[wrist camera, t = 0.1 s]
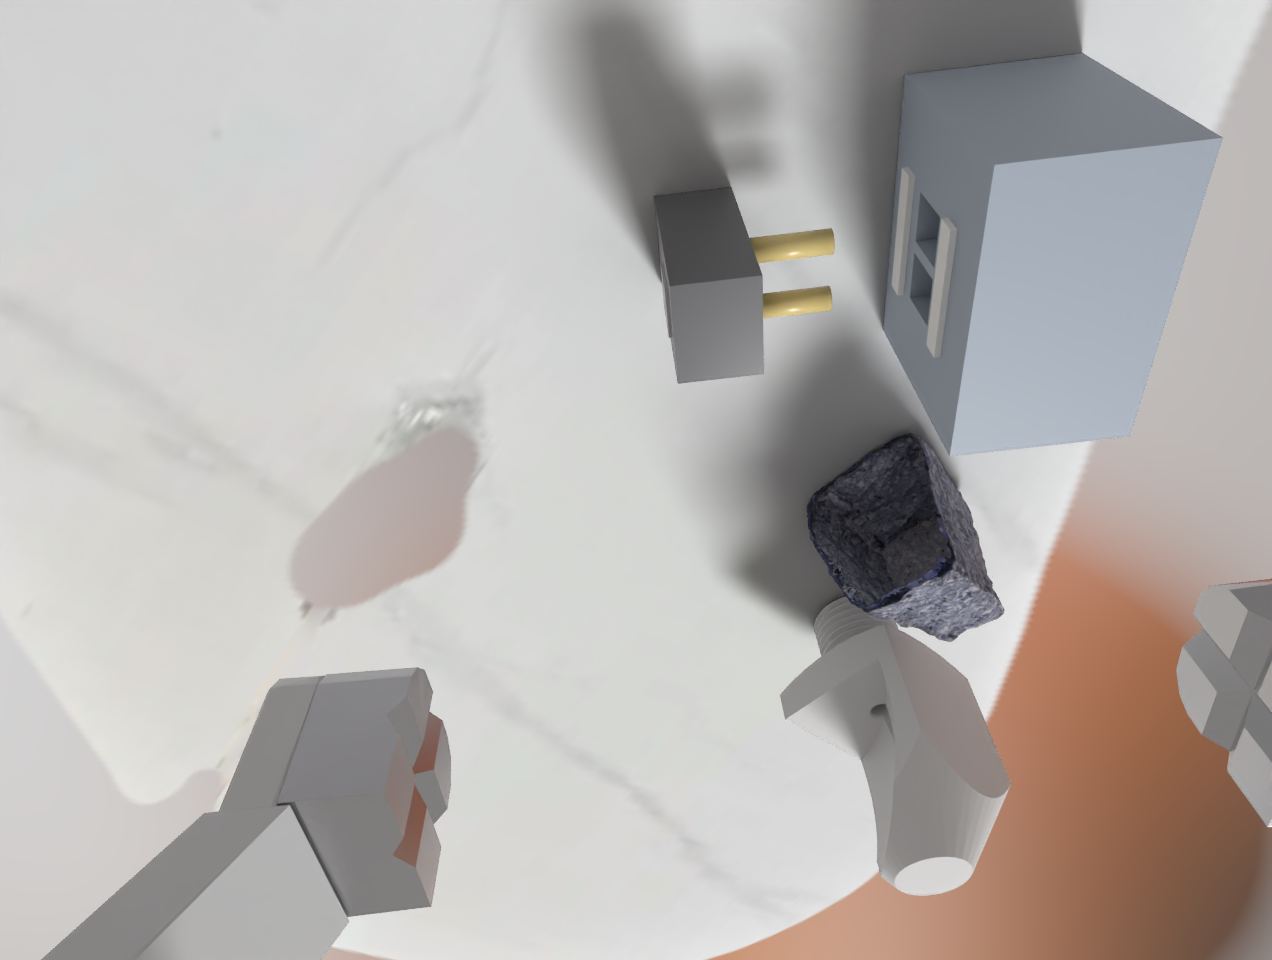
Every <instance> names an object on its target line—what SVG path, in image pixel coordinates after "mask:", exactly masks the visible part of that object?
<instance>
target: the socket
mask: <svg viewBox="0 0 1272 960" xmlns="http://www.w3.org/2000/svg"><path fill="white" fill-rule="evenodd" d="M1222 139H1223V138H1222V137H1221V136H1219V135H1217V134H1216V133H1214V132H1212V131H1211V130H1209V129H1207V128H1206V127H1204V126H1203V125H1201V124H1199V123H1198V122H1196V121H1194V120H1193V119H1191V118H1189V117H1188V116H1186V115H1184V114H1183V113H1181V112H1179V111H1178V110H1176V109H1174V108H1173V107H1171V106H1169V105H1168V104H1166V103H1164V102H1163V101H1161V100H1159V99H1158V98H1156V97H1154V96H1153V95H1151V94H1150V93H1148V92H1146V91H1145V90H1143V89H1141V88H1140V87H1138V86H1136V85H1135V84H1133V83H1131V82H1130V81H1128V80H1126V79H1125V78H1123V77H1121V76H1120V75H1118V74H1116V73H1115V72H1113V71H1111V70H1110V69H1108V68H1106V67H1105V66H1103V65H1102V64H1100V63H1098V62H1097V61H1095V60H1093V59H1092V58H1090V57H1088V56H1087V55H1085V54H1083V53H1080V54H1072V55H1064V56H1055V57H1047V58H1039V59H1031V60H1023V61H1014V62H1006V63H998V64H990V65H982V66H973V67H965V68H957V69H949V70H941V71H932V72H924V73H916V74H908V75H904V87H903V99H902V111H901V123H900V135H899V147H898V158H897V170H896V182H895V194H894V206H893V218H892V230H891V242H890V254H889V266H888V277H887V289H886V301H885V313H884V325H883V330H884V332H885V334H886V336H887V338H888V340H889V342H890V344H891V346H892V347H893V349H894V351H895V353H896V355H897V357H898V359H899V361H900V363H901V365H902V367H903V368H904V370H905V372H906V374H907V376H908V378H909V380H910V382H911V384H912V386H913V387H914V389H915V391H916V393H917V395H918V397H919V399H920V401H921V403H922V405H923V407H924V408H925V410H926V412H927V414H928V416H929V418H930V420H931V422H932V424H933V426H934V427H935V429H936V431H937V433H938V435H939V437H940V439H941V441H942V443H943V445H944V447H945V448H946V450H947V452H948V454H949V456H958V455H967V454H976V453H985V452H994V451H1003V450H1012V449H1021V448H1030V447H1039V446H1048V445H1057V444H1066V443H1075V442H1084V441H1093V440H1102V439H1110V438H1120V437H1128V436H1130V434H1131V431H1132V428H1133V425H1134V422H1135V418H1136V415H1137V412H1138V409H1139V405H1140V402H1141V399H1142V396H1143V393H1144V389H1145V386H1146V383H1147V379H1148V377H1149V373H1150V370H1151V367H1152V364H1153V360H1154V357H1155V354H1156V351H1157V348H1158V344H1159V341H1160V338H1161V335H1162V332H1163V328H1164V325H1165V322H1166V319H1167V315H1168V312H1169V309H1170V306H1171V302H1172V299H1173V296H1174V292H1175V290H1176V287H1177V283H1178V280H1179V277H1180V274H1181V270H1182V267H1183V264H1184V261H1185V258H1186V254H1187V251H1188V248H1189V244H1190V241H1191V238H1192V235H1193V232H1194V229H1195V225H1196V222H1197V219H1198V216H1199V212H1200V209H1201V206H1202V203H1203V200H1204V197H1205V193H1206V190H1207V187H1208V184H1209V180H1210V177H1211V174H1212V171H1213V168H1214V164H1215V161H1216V158H1217V155H1218V151H1219V148H1220V145H1221V142H1222Z"/></svg>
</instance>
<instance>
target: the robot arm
mask: <svg viewBox="0 0 1272 960" xmlns="http://www.w3.org/2000/svg"><path fill="white" fill-rule="evenodd" d="M1193 615H1194V617H1195V618H1196V620H1197V621H1198V623H1199V624H1200V626H1201V627H1202V628H1203V629H1202V630H1201V631H1200V632H1198V633H1197V634H1196V635H1195V636H1194V637H1193V638H1192V639H1190V640H1189V641H1188V642H1187V643H1186V644H1185V645H1183V647H1182V651H1181V655H1180V658H1179V662H1178V665H1177V669H1176V671H1177V679H1178V686H1179V693H1180V697H1181V699H1182V702H1183V704H1184V706H1185V709H1186V711H1187V713H1188V715H1189V717H1190V718H1191V720H1192V721H1193V723H1194V724H1195V726H1196V727H1197V729H1198V730H1199V731H1200V733H1201V734H1202V735H1203V736H1205V737H1206V738H1208V739H1210V740H1212V741H1213V742H1215V743H1217V744H1219V745H1220V746H1222V747H1224V748H1225V749H1227V750H1229V751H1230V753H1229V761H1228V768H1227V771H1228V773H1229V774H1230V775H1231V777H1232V778H1233V779H1234V781H1235V782H1236V784H1237V785H1238V786H1239V788H1240V789H1241V791H1242V792H1243V793H1244V795H1245V796H1246V797H1247V799H1248V800H1249V802H1250V803H1251V804H1252V806H1253V807H1254V809H1255V810H1256V811H1257V813H1258V814H1259V816H1260V817H1261V818H1262V820H1263V821H1264V822H1265V824H1266V825H1267V827H1272V579H1266V580H1258V581H1248V582H1239V583H1230V584H1221V585H1213V586H1210V587H1208V588H1207V589H1206V590H1205V591H1204V592H1203V593H1202V594H1201V595H1200V596H1199V599H1198V602H1197V605H1196V608H1195V610H1194V613H1193ZM432 694H433V691H432V688H431V686H430V683H429V680H428V678H427V675H426V672H425V670H423V669H420V668H418V667H416V668H403V669H391V670H378V671H365V672H352V673H339V674H327V675H326V676H314V677H300V678H286V679H279V680H278V681H277V682H276V683H275V684H274V685H273V686H272V687H271V688H270V689H269V691H268V693H267V695H266V698H265V700H264V702H263V705H262V707H261V710H260V712H259V715H258V717H257V720H256V722H255V724H254V727H253V729H252V732H251V734H250V737H249V739H248V742H247V744H246V746H245V749H244V751H243V754H242V756H241V759H240V761H239V764H238V766H237V768H236V771H235V773H234V776H233V778H232V781H231V783H230V785H229V788H228V790H227V793H226V795H225V798H224V800H223V803H222V805H221V807H220V810H219V811H218V812H210V813H204V814H203V815H202V816H201V817H199V819H197V820H196V821H195V822H194V823H193V824H192V825H191V826H189V827H188V828H187V829H186V830H185V831H184V832H183V833H182V834H181V835H179V836H178V837H177V838H176V839H175V840H174V841H173V842H172V843H171V844H169V845H168V846H167V847H166V848H165V849H164V850H163V851H162V852H160V853H159V854H158V855H157V856H156V857H155V858H154V859H153V860H152V861H151V862H149V863H148V864H147V865H146V866H145V867H144V868H143V869H142V870H140V871H139V872H138V873H137V874H136V875H135V876H134V877H133V878H132V879H130V880H129V881H128V882H127V883H126V884H125V885H124V886H123V887H122V888H120V889H119V890H118V891H117V892H116V893H115V894H114V895H113V896H112V897H111V898H109V899H108V900H107V901H106V902H105V903H104V904H103V905H102V906H101V907H99V908H98V909H97V910H96V911H95V912H94V913H93V914H92V915H90V916H89V917H88V918H87V919H86V920H85V921H84V922H83V923H81V924H80V925H79V926H78V927H77V928H76V929H75V930H74V931H73V932H71V933H70V934H69V935H68V936H67V937H66V938H65V939H64V940H63V941H61V942H60V943H59V944H58V945H57V946H56V947H55V948H54V949H53V950H51V951H50V952H49V953H48V954H47V955H46V956H45V957H44V958H42V959H41V960H322V958H323V957H324V955H325V954H326V953H327V951H328V950H329V949H330V947H331V946H332V944H333V943H334V942H335V940H336V939H337V938H338V936H339V935H340V933H341V932H342V931H343V929H344V928H345V927H346V925H347V924H348V923H349V920H348V918H347V917H350V916H358V915H366V914H375V913H383V912H391V911H399V910H407V909H415V908H423V907H431V905H432V899H433V893H434V887H435V881H436V875H437V869H438V863H439V857H440V851H441V845H440V842H439V839H438V836H437V834H436V831H435V828H434V825H433V824H434V823H435V822H436V821H437V820H438V819H439V818H440V816H441V815H442V814H443V813H444V812H445V811H446V810H447V807H448V800H449V793H450V786H451V756H450V749H449V743H448V737H447V734H446V730H445V727H444V724H443V721H442V720H441V719H439V718H438V717H436V716H435V715H433V714H432V713H431V712H429V709H430V704H431V699H432Z"/></svg>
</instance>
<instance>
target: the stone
mask: <svg viewBox="0 0 1272 960" xmlns="http://www.w3.org/2000/svg"><path fill="white" fill-rule="evenodd" d="M917 453H919V457H920V458H918V457H917V456H916V454H917ZM917 458H918V459H917ZM916 459H917V460H916ZM823 505H825V506H823ZM807 513H808V515H807V517H808V528H809V530H810V538H811V540H812V541H813V543H814V544H815V548H816V549H817V551H818V552H819V554H820V555H821V557H822V559H823V560H824V561H825V563H826V564H827V566H828V567H829V574H830V575H831V576H832V577H833V578H834V580H835V582H836V583H837V584H838V586H839V587H840V588H841V590H842V591H843V592H844V594H845V596H846V597H847V598H848V600H849V601H850V603H851V604H853V605H856V606H857V607H858V608H861V609H862V610H863V611H864V612H865V613H866V614H867V615H868V616H871V617H874V618H877V619H880V620H895V621H896V622H897V623H898V624H899V625H900V626H901V627H906V628H908V627H915V628H919V629H921V630H923V631H925V632H926V633H927V634H929V635H933V636H935V637H936V638H937V639H939V640H944V641H948V642H952V641H954V640H955V639H956V638H957V637H958V635H960V634H961V633H963V632H964V631H966V630H967V629H972V628H976V627H979V626H981V625H983V624H985V623H988V622H990V621H993V620H996V619H998V618H999V617H1000V616H1001V615H1003V614H1004V608H1003V607H1002V605H1001V602H1000V600H999V598H998V596H997V594H996V593H995V591H994V590H993V588H992V581H991V580H990V579H989V577H988V576H987V570H986V567H985V560H984V559H983V557H982V551H981V548H980V544H979V537H978V534H977V532H976V530H975V528H974V527H973V519H972V516H971V512H970V510H969V508H968V506H967V504H966V502H965V501H964V500H963V498H962V495H961V493H960V492H959V491H958V490H957V489H956V488H955V487H954V482H953V481H952V479H951V477H948V476H947V474H946V473H945V471H944V469H943V467H942V465H941V463H940V461H939V459H938V457H937V455H936V453H935V452H934V451H933V450H932V448H931V447H930V446H929V445H928V444H927V442H925V441H924V440H922V439H921V438H919V437H917V436H914V435H912V434H911V433H909V434H907V435H903V436H901V437H898V438H896V439H895V440H893V441H891V442H890V443H888V444H886V445H885V446H883V448H882V449H880V450H877V451H873V452H871V453H870V454H868V455H867V456H866V457H865V458H864V459H862V462H860V463H859V464H858V465H855V466H853V467H852V468H851V469H850V470H849V471H847V472H846V473H844V474H842V475H841V476H839V477H838V478H836V479H835V480H834V481H833V482H831V483H829V484H828V485H827V486H826V487H824V488H822V489H821V490H820V491H818V492H816V493H815V494H814V495H813V497H812V499H811V500H810V502H809V504H808V505H807ZM843 517H844V518H843ZM916 518H917V519H919V520H920V521H921V524H919V525H916V524H915V523H913V520H914V519H916ZM903 528H904V529H903Z"/></svg>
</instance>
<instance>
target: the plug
mask: <svg viewBox="0 0 1272 960" xmlns="http://www.w3.org/2000/svg"><path fill="white" fill-rule="evenodd" d="M654 202H655V213H656V224H657V235H658V246H659V257H660V268H661V279H662V288H663V299H664V309H665V315H666V322H667V328H668V334H669V338H671V344H672V350H673V356H674V362H675V369H676V375H677V381H678V384H679V383H688V382H696V381H705V380H714V379H722V378H731V377H740V376H749V375H757V374H764V359H763V318H771V317H779V316H788V315H797V314H805V313H814V312H823V311H831V309H832V294H831V289H830V287H829V286H824V287H816V288H807V289H799V290H790V291H781V292H773V293H764V294H763V283H762V273H761V270H760V267H759V264H758V263H765V262H773V261H782V260H790V259H799V258H807V257H816V256H824V255H833V253H834V247H835V243H834V234H833V230H832V229H822V230H814V231H805V232H797V233H788V234H780V235H771V236H763V237H755V238H749V236H748V233H747V230H746V228H745V225H744V222H743V219H742V216H741V213H740V211H739V208H738V205H737V202H736V199H735V196H734V194H733V191H732V188H731V187H727V188H718V189H710V190H702V191H693V192H685V193H677V194H668V195H660V196H654Z"/></svg>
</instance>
